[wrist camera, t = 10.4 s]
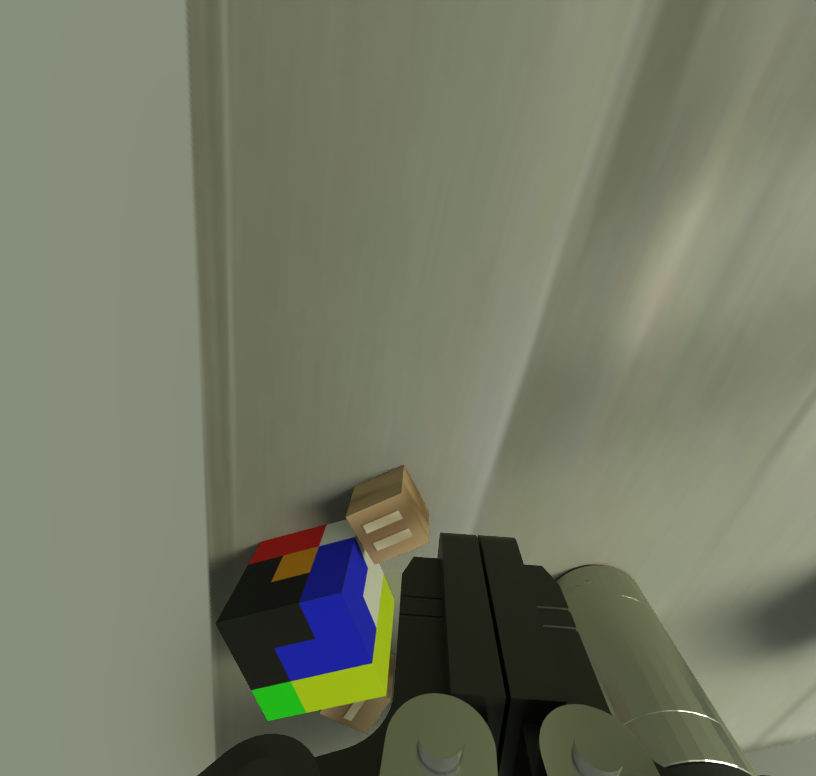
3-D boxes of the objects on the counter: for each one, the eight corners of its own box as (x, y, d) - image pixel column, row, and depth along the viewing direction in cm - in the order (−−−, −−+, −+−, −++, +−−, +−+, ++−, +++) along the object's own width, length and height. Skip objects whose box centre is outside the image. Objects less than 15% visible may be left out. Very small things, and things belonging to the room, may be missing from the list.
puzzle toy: (360, 515, 43) (341, 592, 33) (394, 600, 45) (386, 695, 36) (261, 541, 44) (215, 623, 34) (300, 623, 46) (267, 721, 37)
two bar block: (428, 509, 42) (429, 543, 37) (380, 529, 43) (374, 566, 38) (404, 464, 41) (401, 494, 36) (354, 486, 42) (345, 518, 37)
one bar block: (394, 653, 47) (391, 701, 42) (372, 686, 49) (366, 735, 44) (351, 633, 47) (342, 679, 42) (329, 667, 48) (319, 715, 43)
